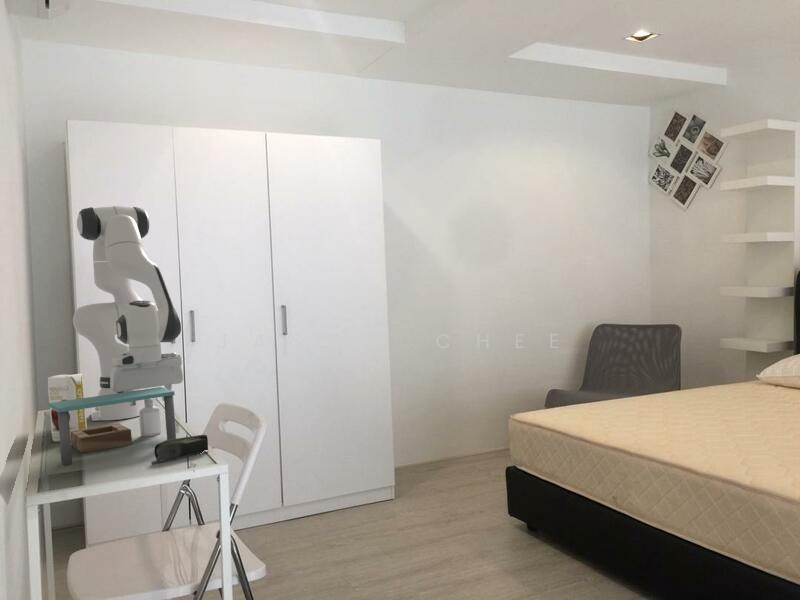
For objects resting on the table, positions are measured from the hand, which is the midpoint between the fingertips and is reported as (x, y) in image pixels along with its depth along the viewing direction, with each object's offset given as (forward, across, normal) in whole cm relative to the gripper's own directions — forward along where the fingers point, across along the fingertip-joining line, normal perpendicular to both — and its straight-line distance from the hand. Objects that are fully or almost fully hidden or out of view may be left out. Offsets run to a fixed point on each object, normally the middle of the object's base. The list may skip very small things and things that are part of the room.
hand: (149, 403), depth 202 cm
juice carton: (+9, +19, -16) cm, 26 cm away
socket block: (+10, +14, 0) cm, 17 cm away
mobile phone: (+11, +3, +33) cm, 35 cm away
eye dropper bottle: (+10, 0, -1) cm, 10 cm away
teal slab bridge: (+10, +13, +12) cm, 20 cm away
